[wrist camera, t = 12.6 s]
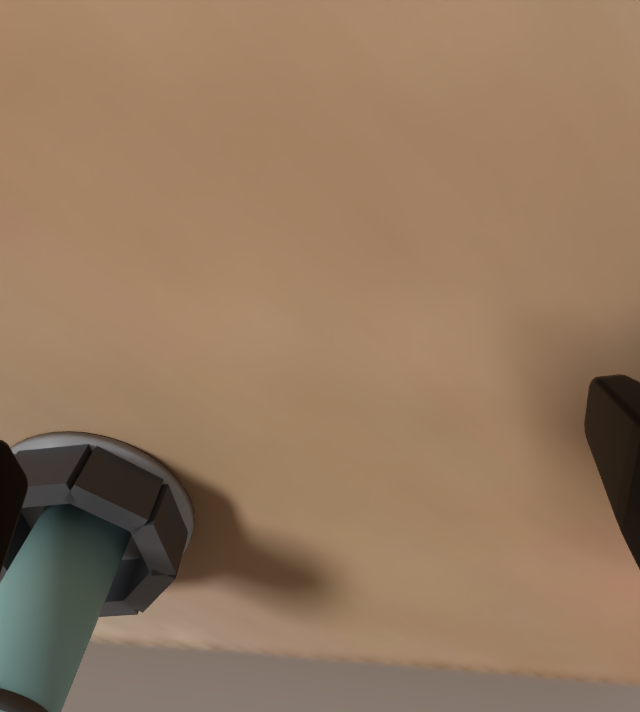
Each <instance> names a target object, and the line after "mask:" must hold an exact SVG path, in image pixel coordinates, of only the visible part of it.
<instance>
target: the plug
mask: <svg viewBox="0 0 640 712" xmlns="http://www.w3.org/2000/svg"><path fill="white" fill-rule="evenodd" d="M131 535H132V534H131V532H130V531H128V530H126V529H124V528H121V527H119V526H117V525H115V524H113V523H111V522H109V521H106V520H104V519H102V518H100V517H98V516H96V515H93V514H91V513H89V512H87V511H85V510H83V509H81V508H78V507H76V506H74V505H72V504H60V505H48V506H46V507H45V508H44V510H43V512H42V513H41V515H40V517H39V518H38V520H37V522H36V523H35V525H34V527H33V528H32V530H31V532H30V533H29V535H28V537H27V539H26V540H25V542H24V544H23V545H22V547H21V549H20V550H19V552H18V554H17V555H16V557H15V559H14V560H13V562H12V564H11V565H10V567H9V569H8V570H7V572H6V574H5V575H4V577H3V579H2V581H1V582H0V712H61V710H62V708H63V705H64V703H65V700H66V698H67V695H68V693H69V690H70V688H71V685H72V683H73V680H74V678H75V675H76V672H77V670H78V668H79V665H80V663H81V660H82V658H83V655H84V653H85V650H86V648H87V645H88V643H89V640H90V638H91V635H92V633H93V630H94V628H95V625H96V623H97V620H98V618H99V615H100V613H101V610H102V607H103V605H104V602H105V600H106V597H107V595H108V592H109V590H110V587H111V585H112V582H113V580H114V577H115V575H116V572H117V570H118V567H119V565H120V562H121V560H122V557H123V555H124V552H125V550H126V547H127V545H128V542H129V540H130V537H131Z"/></svg>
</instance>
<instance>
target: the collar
mask: <svg viewBox="0 0 640 712" xmlns="http://www.w3.org/2000/svg"><path fill="white" fill-rule="evenodd" d="M10 449H11V450H12V452H13V454H14V455H15V457H16V459H17V460H18V462H19V464H20V465H21V467H22V469H23V470H24V472H25V474H26V476H27V479H28V490H27V494H26V497H25V500H24V503H23V506H22V509H21V512H20V516H19V519H18V522H17V525H16V528H15V531H14V534H13V537H12V540H11V543H10V546H9V549H8V552H7V555H6V558H5V562H4V565H3V567H2V570H1V573H0V582H1V581H2V579H3V577H4V575H5V574H6V572H7V570H8V569H9V567H10V565H11V564H12V562H13V560H14V559H15V557H16V555H17V554H18V552H19V550H20V549H21V547H22V545H23V544H24V542H25V540H26V539H27V537H28V535H29V533H30V532H31V530H32V528H33V527H34V525H35V523H36V522H37V520H38V518H39V517H40V515H41V513H42V512H43V510H44V508H45V507H46V506H48V505H60V504H72V505H74V506H76V507H78V508H81V509H83V510H85V511H87V512H89V513H91V514H93V515H96V516H98V517H100V518H102V519H104V520H106V521H109V522H111V523H113V524H115V525H117V526H119V527H121V528H124V529H126V530H128V531H130V532H131V534H132V535H131V537H130V540H129V542H128V545H127V547H126V550H125V552H124V555H123V557H122V560H121V562H120V565H119V567H118V570H117V572H116V575H115V577H114V580H113V582H112V585H111V587H110V590H109V592H108V595H107V597H106V600H105V602H104V605H103V607H102V610H101V613H100V615H99V617H105V616H121V615H137V614H138V611H141V612H144V611H145V610H146V609H147V608H148V607H149V606H150V605H151V604H152V602H153V601H154V600H155V599H156V598H157V597H158V596H159V595H160V594H161V593H162V592H163V591H164V590H165V589H166V588H167V587H168V586H169V585H170V584H171V583H172V582H173V581H174V580H175V578H176V575H177V571H178V568H179V564H180V561H181V558H182V555H183V553H184V552H185V551H186V549H187V547H188V545H189V542H190V539H191V535H192V532H193V528H194V512H193V507H192V504H191V501H190V499H189V497H188V495H187V492H186V491H185V489H184V488H183V486H182V485H181V483H180V482H179V481H178V480H177V479H176V477H175V476H174V475H173V474H172V473H171V472H170V471H169V470H168V469H167V468H165V467H164V466H163V465H162V464H161V463H159V462H158V461H157V460H155V459H154V458H152V457H151V456H149V455H148V454H146V453H144V452H142V451H141V450H139V449H137V448H135V447H132V446H130V445H128V444H126V443H123V442H120V441H117V440H115V439H112V438H108V437H104V436H100V435H96V434H89V433H83V432H52V433H46V434H40V435H37V436H33V437H30V438H27V439H25V440H23V441H20V442H18V443H17V444H15V445H13V446H12V447H10Z"/></svg>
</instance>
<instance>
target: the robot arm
mask: <svg viewBox="0 0 640 712" xmlns="http://www.w3.org/2000/svg"><path fill="white" fill-rule="evenodd" d="M584 425H585V434H586V438H587V441H588V444H589V446H590V449H591V452H592V455H593V457H594V460H595V463H596V466H597V468H598V471H599V474H600V476H601V479H602V482H603V485H604V487H605V490H606V493H607V496H608V498H609V501H610V504H611V506H612V509H613V512H614V515H615V517H616V520H617V522H618V525H619V527H620V530H621V532H622V534H623V537H624V539H625V541H626V543H627V545H628V547H629V549H630V551H631V553H632V555H633V557H634V559H635V561H636V563H637V565H638V567H639V569H640V382H638V381H636V380H634V379H632V378H630V377H628V376H625V375H610V376H601V377H595V378H594V379H593V380H592V381H591V383H590V385H589V391H588V399H587V407H586V414H585V423H584ZM27 490H28V479H27V476H26V474H25V472H24V470H23V469H22V467H21V465H20V464H19V462H18V460H17V459H16V457H15V455H14V454H13V452H12V450H11V449H10V447H9V445H8V444H7V443H6V442H4V441H3V440H0V573H1V570H2V567H3V565H4V562H5V558H6V555H7V552H8V549H9V546H10V543H11V540H12V537H13V534H14V531H15V528H16V525H17V522H18V519H19V516H20V512H21V509H22V506H23V503H24V500H25V497H26V494H27Z"/></svg>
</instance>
